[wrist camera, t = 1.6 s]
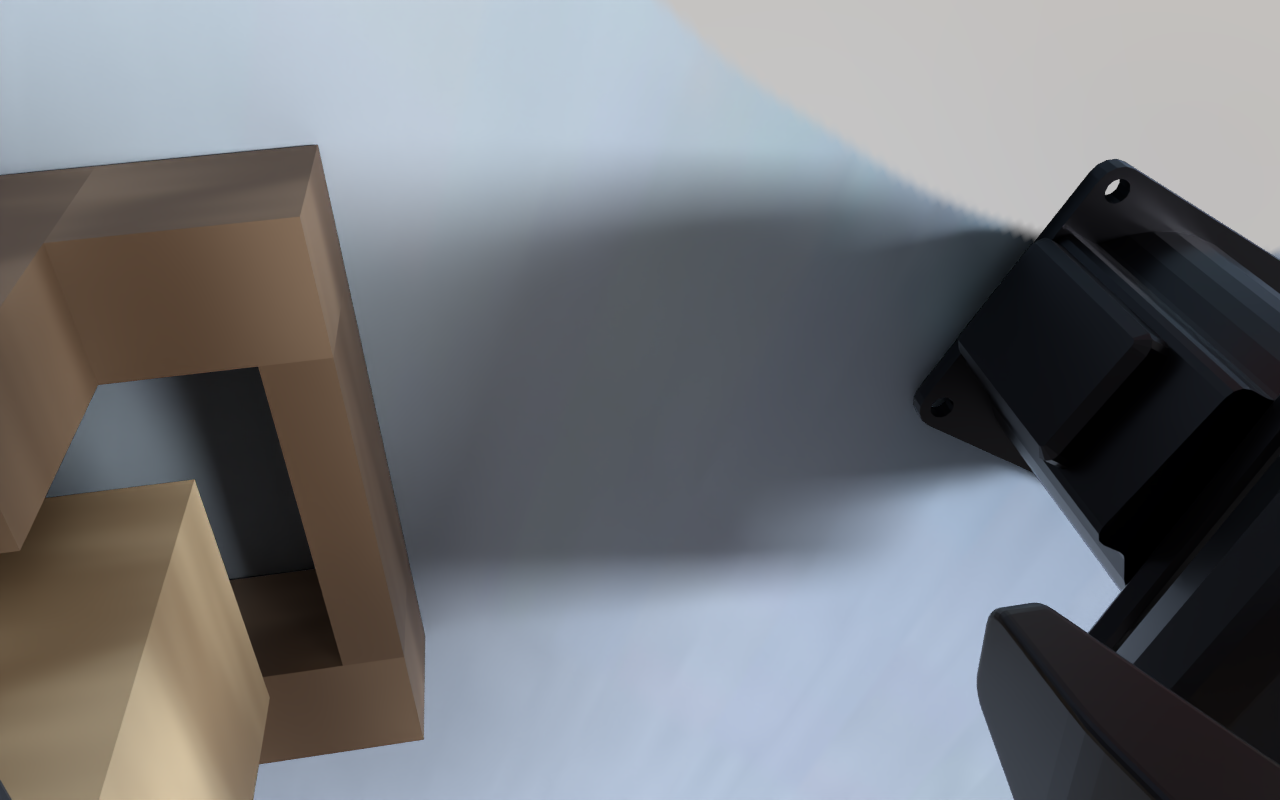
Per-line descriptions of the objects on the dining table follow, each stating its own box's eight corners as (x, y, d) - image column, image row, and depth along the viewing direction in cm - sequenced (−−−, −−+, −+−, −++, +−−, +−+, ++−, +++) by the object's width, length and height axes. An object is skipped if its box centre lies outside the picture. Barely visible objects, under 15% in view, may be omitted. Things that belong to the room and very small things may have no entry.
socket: (317, 144, 19) (265, 353, 13) (425, 636, 26) (421, 916, 20) (-383, 212, 18) (-768, 472, 12) (-80, 708, 25) (-238, 1025, 19)
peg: (196, 476, 17) (73, 890, 11) (273, 699, 20) (205, 1119, 14) (-153, 519, 17) (-466, 974, 11) (-23, 742, 19) (-216, 1195, 14)
